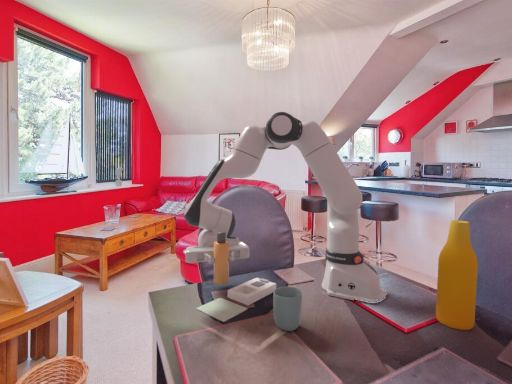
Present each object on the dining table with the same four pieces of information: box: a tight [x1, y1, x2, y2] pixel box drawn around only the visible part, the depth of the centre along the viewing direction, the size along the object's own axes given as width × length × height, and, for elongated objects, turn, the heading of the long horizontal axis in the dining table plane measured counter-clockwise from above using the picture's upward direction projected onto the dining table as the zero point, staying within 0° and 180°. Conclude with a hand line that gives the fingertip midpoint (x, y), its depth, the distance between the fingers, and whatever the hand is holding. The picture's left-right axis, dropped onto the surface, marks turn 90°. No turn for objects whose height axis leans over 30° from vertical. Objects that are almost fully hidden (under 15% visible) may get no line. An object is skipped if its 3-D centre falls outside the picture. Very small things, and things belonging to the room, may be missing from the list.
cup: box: [272, 285, 303, 332], centre depth 81 cm, size 8×8×10 cm
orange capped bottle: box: [213, 232, 230, 286], centre depth 88 cm, size 4×4×15 cm
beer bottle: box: [435, 219, 479, 331], centre depth 83 cm, size 9×9×29 cm
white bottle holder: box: [227, 277, 277, 306], centre depth 100 cm, size 15×9×4 cm, turn 141°
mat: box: [195, 297, 248, 323], centre depth 89 cm, size 12×10×1 cm
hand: (221, 259), depth 87 cm, fingers closed on orange capped bottle, 4 cm apart
